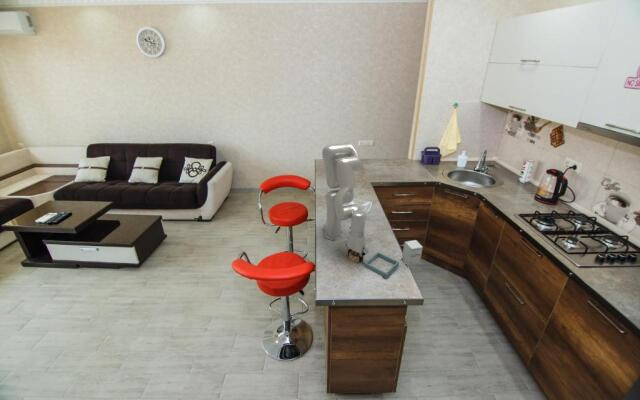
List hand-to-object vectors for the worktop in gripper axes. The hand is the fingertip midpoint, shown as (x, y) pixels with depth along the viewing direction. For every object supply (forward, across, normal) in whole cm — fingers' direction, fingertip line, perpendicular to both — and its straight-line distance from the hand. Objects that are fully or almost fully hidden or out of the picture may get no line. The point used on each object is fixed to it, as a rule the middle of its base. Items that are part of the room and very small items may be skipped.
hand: (355, 257), depth 175 cm
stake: (+1, 0, 0) cm, 1 cm away
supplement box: (+1, +25, +19) cm, 31 cm away
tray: (+1, +15, +4) cm, 16 cm away
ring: (0, 0, 0) cm, 0 cm away
